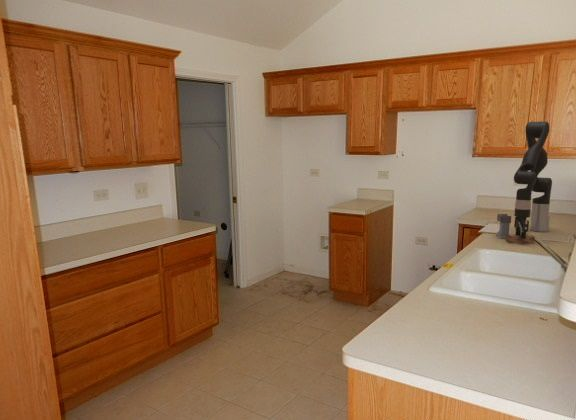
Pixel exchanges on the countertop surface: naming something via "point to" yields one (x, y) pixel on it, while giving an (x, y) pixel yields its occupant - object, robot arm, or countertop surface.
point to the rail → (518, 239)
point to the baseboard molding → (490, 229)
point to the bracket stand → (504, 225)
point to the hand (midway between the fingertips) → (520, 237)
